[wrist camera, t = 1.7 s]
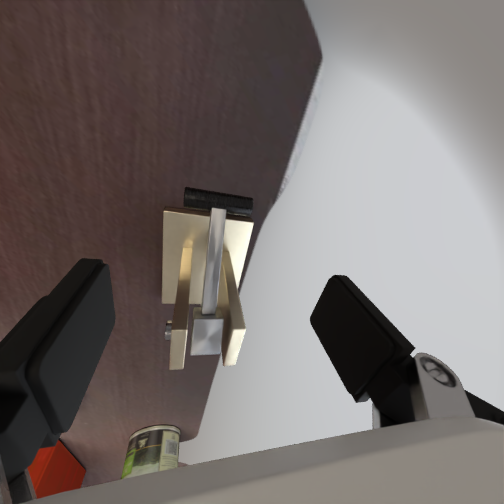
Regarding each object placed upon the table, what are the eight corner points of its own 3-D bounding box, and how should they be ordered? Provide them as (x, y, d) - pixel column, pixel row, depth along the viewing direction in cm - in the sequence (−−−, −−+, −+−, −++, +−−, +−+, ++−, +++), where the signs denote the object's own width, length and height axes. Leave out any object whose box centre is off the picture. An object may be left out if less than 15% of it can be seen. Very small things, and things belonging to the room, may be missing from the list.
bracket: (165, 206, 21) (133, 282, 11) (251, 218, 23) (288, 288, 14) (163, 296, 27) (140, 399, 17) (232, 298, 29) (249, 388, 19)
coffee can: (122, 446, 45) (94, 560, 33) (140, 423, 42) (116, 542, 30) (168, 446, 50) (158, 546, 38) (189, 425, 46) (184, 528, 35)
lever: (185, 189, 16) (184, 183, 14) (247, 199, 18) (256, 195, 15) (172, 339, 17) (169, 356, 15) (232, 337, 19) (238, 353, 16)
